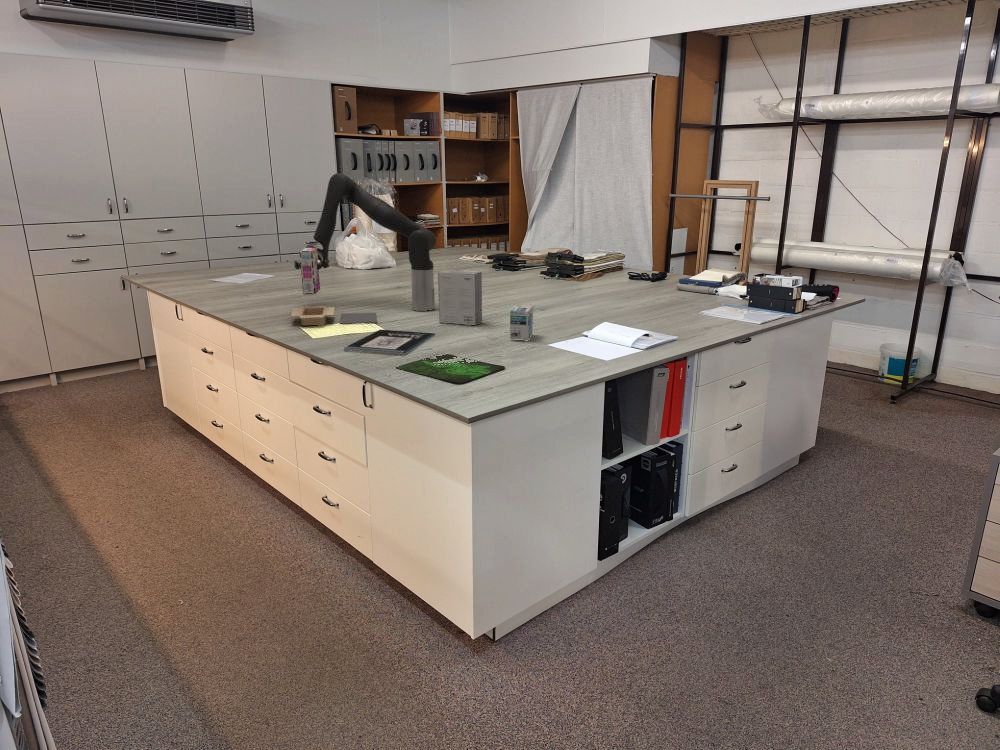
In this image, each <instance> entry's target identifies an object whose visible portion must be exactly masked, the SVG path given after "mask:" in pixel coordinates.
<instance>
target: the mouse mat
mask: <svg viewBox="0 0 1000 750" xmlns="http://www.w3.org/2000/svg"><path fill="white" fill-rule="evenodd" d="M445 354H446V355H442V356H436V358H437V359H430V358H428V357H425V358H422V359H419V360H415V361H411V362H408V363H405V364H401V365H398V366H399V367H397V366H396V367H395V369H396V370H400V371H402V370H403V372H406V373H410V374H415V375H419V376H422V377H425V376H426V377H427V378H429V377H430V378H431V379H433V378H434V379H433V380H437V379H438V381H441V380H442V382H448V383H450V384H451V383H452V384H456V385H464V384H467V383H469V382H473V381H476V380H478V379H481V378H484V377H486V376H489V375H492V374H495V373H498V372H500V371H503V370H505V369H506V367H505V366H504V365H500V364H494V363H488V362H485V361H481V360H479V361H478V360H475V359H473V360H474V362H470V363H468V362H466V360H465V359H467V358H465V357H463V358H464V359H462V360H464V361H457V362H459V363H457V362H454V363H452V362H451V363H448V362H447V363H444V362H443V363H433V362H438V361H439V360H440V361H442V359H444V360H449V359H454V358H453V357H456V358H457V357H458V356H457V355H454V354H451V353H450V354H449V353H445ZM459 357H460V356H459ZM460 358H462V357H460ZM423 359H424V360H423ZM425 359H426V360H425ZM468 359H469V360H472V359H470V358H468ZM475 361H477V362H475ZM462 362H464V363H462ZM434 364H436V365H434ZM437 364H440V365H437ZM441 364H443V365H441ZM445 364H446V365H445ZM449 364H450V365H449ZM497 371H498V372H497ZM494 372H495V373H494Z"/></svg>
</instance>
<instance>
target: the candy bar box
mask: <svg viewBox="0 0 1000 750" xmlns="http://www.w3.org/2000/svg"><path fill="white" fill-rule="evenodd" d="M317 248H318V247H317ZM317 248H305V247H304V248H303V249H301V250H299V261H300V262H299V263H301V269H300V272H301V274H300V275H301V288H302V295H303V296H305V295H308V296H309V295H316V294H317V293H319V291H320V290H321V285H320V284H321V282H320V269H319V270H318V269H317V263H318V254H317Z"/></svg>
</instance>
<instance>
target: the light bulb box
mask: <svg viewBox="0 0 1000 750" xmlns="http://www.w3.org/2000/svg"><path fill="white" fill-rule="evenodd" d="M533 321H534V306H533V305H519V304H515V305H514V306H513V307H512V308H511V309H510V311H509V340H510V339H523V340H528V339H529V338H530V336H531V335H532V336H533V327H534V326H533V324H534V322H533ZM532 336H531V337H532ZM530 339H531V338H530ZM530 339H529V340H530ZM529 340H528V341H529Z"/></svg>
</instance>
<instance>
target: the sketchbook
mask: <svg viewBox="0 0 1000 750" xmlns="http://www.w3.org/2000/svg"><path fill="white" fill-rule="evenodd" d="M433 335H435V336H436V333H434V332H423V331H407V330H396V329H395V330H393V329H378V330H376V331H374V332H372V333H370V334H368V335H366V336H364V337H363V338H361V339H358V340H356V341H354V342H353V343H350V344H348V345H347V346H344V347H343V351H344V350H346V351H347V350H348V351H349V350H352V351H351V352H353V351H358V352H359V351H362V352H361V353H363V352H364V353H365V354H367V353H366V352H370V353H371V352H372V353H371V354H375V355H376V354H378V353H380V354H379V355H384V356H386V355H389V356H391V355H392V356H401V357H403V356H404V357H405V356H407V355H409V354H410V353H411V352H412V351H414V350H416V349H417V348H419V347H420V346H421V345H423V344H424V343H426V342H427V341H429V340H430V339H432V338H433V337H434V336H433ZM432 336H433V337H432ZM431 337H432V338H431ZM429 338H430V339H429ZM428 339H429V340H428ZM426 340H427V341H426ZM425 341H426V342H425ZM422 343H423V344H422ZM418 346H419V347H418ZM415 348H416V349H415ZM348 351H347V352H348ZM349 352H350V351H349ZM358 352H357V353H358ZM359 353H360V352H359ZM381 353H382V354H381Z"/></svg>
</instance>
